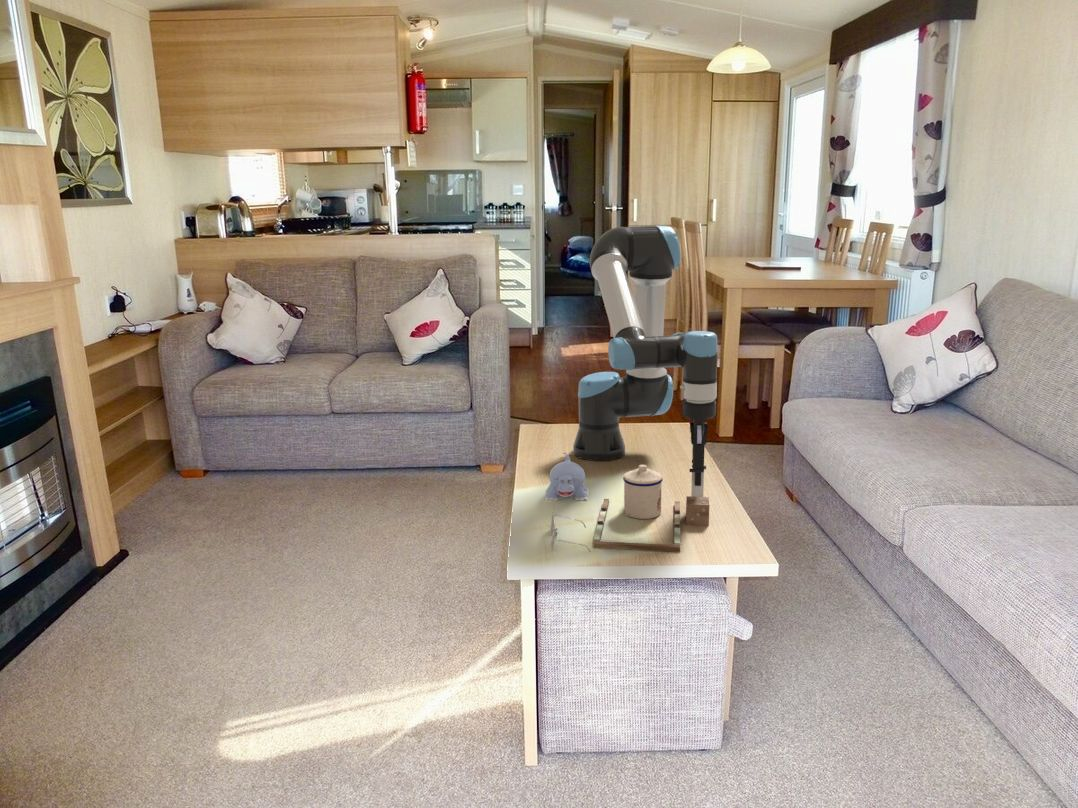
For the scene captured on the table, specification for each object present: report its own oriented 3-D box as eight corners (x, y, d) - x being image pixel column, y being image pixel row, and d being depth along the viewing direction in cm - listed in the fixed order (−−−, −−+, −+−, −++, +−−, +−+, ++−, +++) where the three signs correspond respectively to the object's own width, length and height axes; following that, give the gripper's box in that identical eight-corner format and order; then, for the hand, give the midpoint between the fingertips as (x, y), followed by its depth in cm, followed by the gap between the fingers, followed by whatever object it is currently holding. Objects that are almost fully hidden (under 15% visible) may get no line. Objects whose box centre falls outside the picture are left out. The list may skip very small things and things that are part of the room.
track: (604, 502, 194) (604, 495, 193) (679, 505, 191) (679, 498, 190) (593, 547, 169) (593, 539, 168) (680, 551, 166) (680, 543, 165)
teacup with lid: (667, 518, 183) (667, 470, 180) (628, 521, 182) (628, 473, 179) (652, 499, 195) (652, 454, 192) (616, 502, 194) (616, 457, 191)
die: (685, 516, 184) (686, 495, 183) (707, 517, 183) (708, 496, 182) (686, 525, 179) (686, 504, 178) (708, 526, 179) (709, 504, 177)
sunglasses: (549, 529, 180) (552, 508, 179) (586, 533, 180) (589, 513, 179) (551, 555, 166) (554, 533, 165) (590, 560, 167) (594, 538, 166)
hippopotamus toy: (543, 509, 191) (542, 472, 188) (546, 487, 205) (545, 452, 203) (588, 509, 190) (588, 471, 188) (588, 487, 205) (587, 452, 202)
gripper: (682, 393, 188) (681, 487, 194) (682, 406, 176) (681, 506, 181) (714, 393, 187) (712, 488, 193) (717, 406, 175) (714, 507, 180)
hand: (697, 496), depth 187 cm, fingers closed
